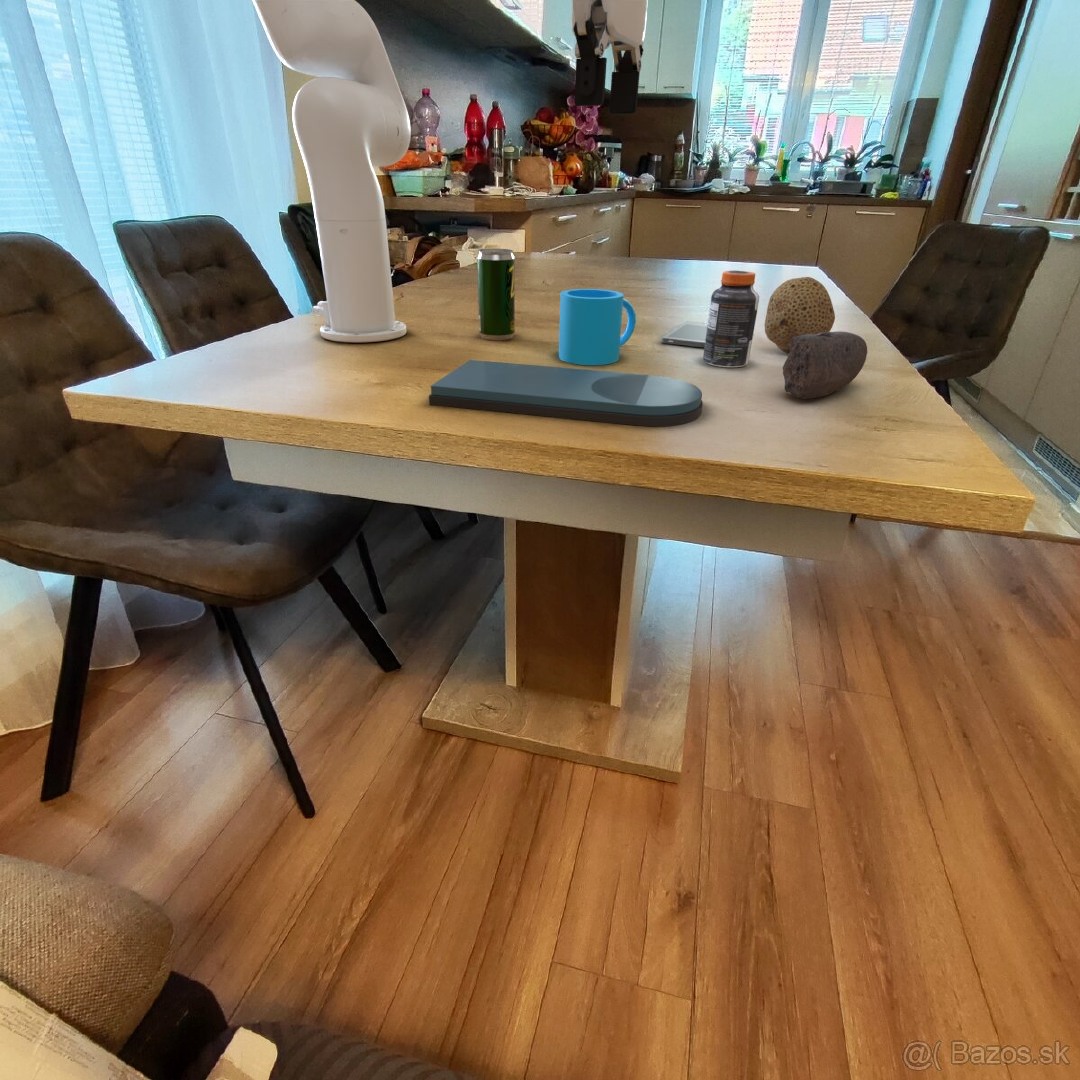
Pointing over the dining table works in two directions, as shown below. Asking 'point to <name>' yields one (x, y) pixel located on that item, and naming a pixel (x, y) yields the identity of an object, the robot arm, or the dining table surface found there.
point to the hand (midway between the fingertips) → (606, 109)
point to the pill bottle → (731, 320)
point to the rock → (823, 363)
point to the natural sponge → (798, 311)
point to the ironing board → (569, 393)
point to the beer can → (496, 294)
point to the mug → (593, 326)
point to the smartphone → (687, 334)
